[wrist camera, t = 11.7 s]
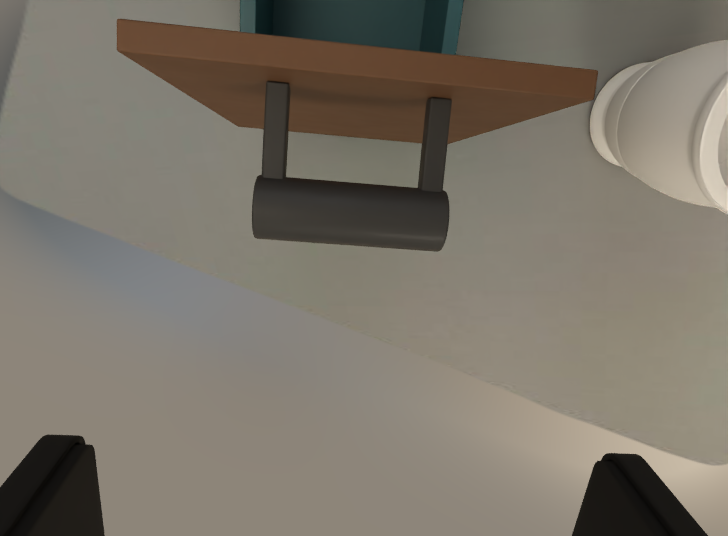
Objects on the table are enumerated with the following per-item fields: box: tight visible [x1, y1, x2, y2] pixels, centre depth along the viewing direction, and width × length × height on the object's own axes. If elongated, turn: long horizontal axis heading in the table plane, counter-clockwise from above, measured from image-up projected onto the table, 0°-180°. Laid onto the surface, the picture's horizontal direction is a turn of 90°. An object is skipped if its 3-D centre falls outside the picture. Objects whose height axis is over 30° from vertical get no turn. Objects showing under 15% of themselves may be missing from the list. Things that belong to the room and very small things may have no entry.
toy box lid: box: [117, 19, 598, 251], centre depth 22 cm, size 18×13×6 cm
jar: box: [590, 40, 728, 215], centre depth 34 cm, size 11×10×15 cm
